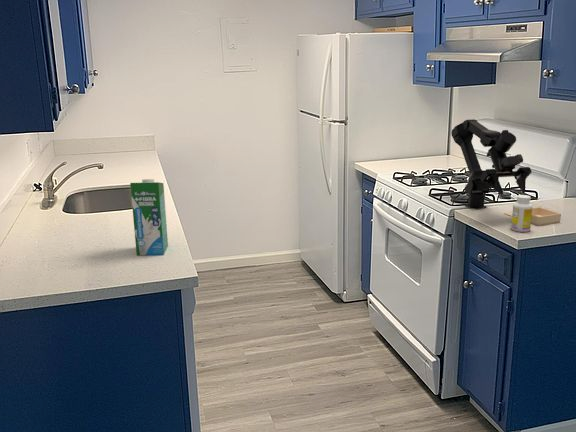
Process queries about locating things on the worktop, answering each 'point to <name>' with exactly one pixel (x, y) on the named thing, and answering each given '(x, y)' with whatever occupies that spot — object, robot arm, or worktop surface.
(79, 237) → the worktop surface
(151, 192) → the milk carton
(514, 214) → the supplement bottle
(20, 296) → the worktop surface
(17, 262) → the worktop surface
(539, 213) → the mailer box
